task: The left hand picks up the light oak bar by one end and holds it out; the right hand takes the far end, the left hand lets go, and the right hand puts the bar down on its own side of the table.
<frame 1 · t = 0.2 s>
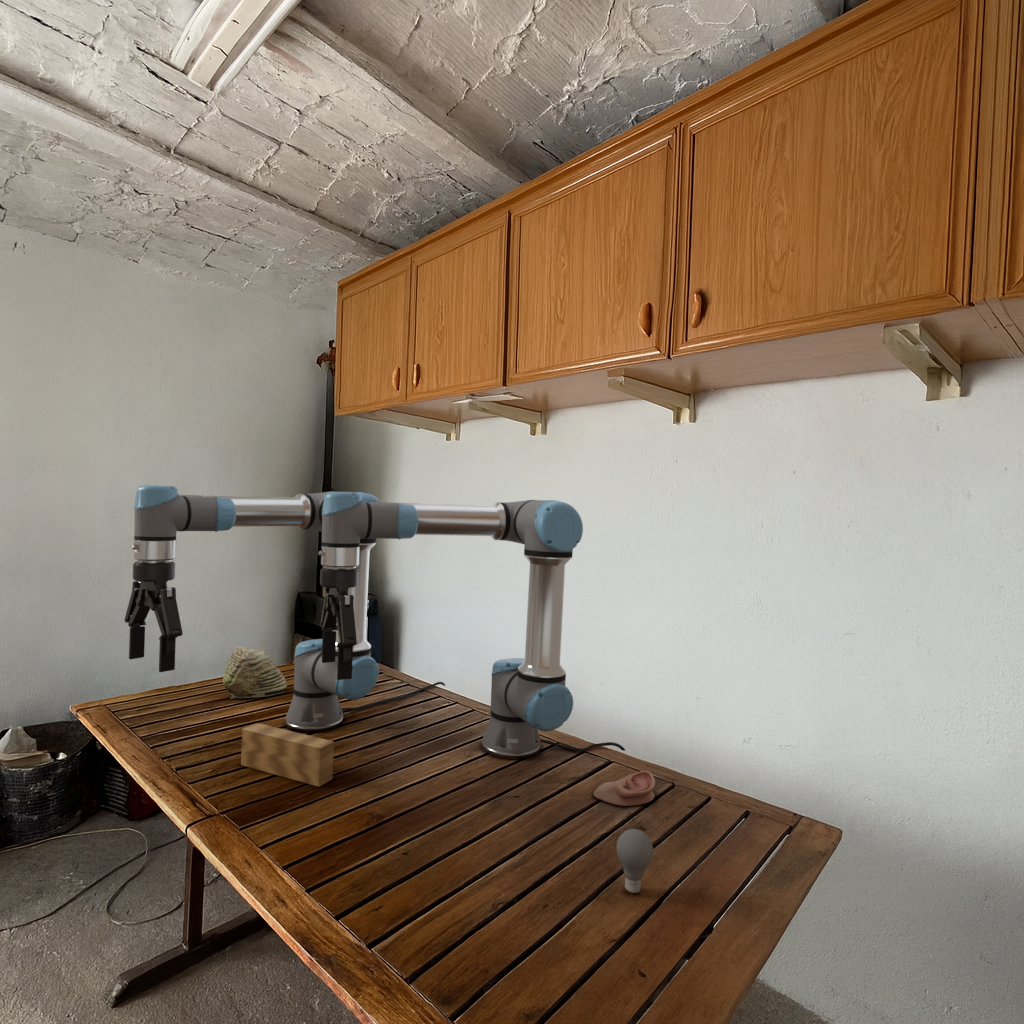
left hand: (151, 664, 130), 28 cm above the table, tool pointing down, fingers open, 13 cm apart
right hand: (336, 670, 130), 28 cm above the table, tool pointing down, fingers open, 13 cm apart
anatomical model: (624, 795, 141), on the table
bar: (285, 771, 145), on the table
light bulb: (632, 891, 106), on the table
fossil: (254, 694, 198), on the table
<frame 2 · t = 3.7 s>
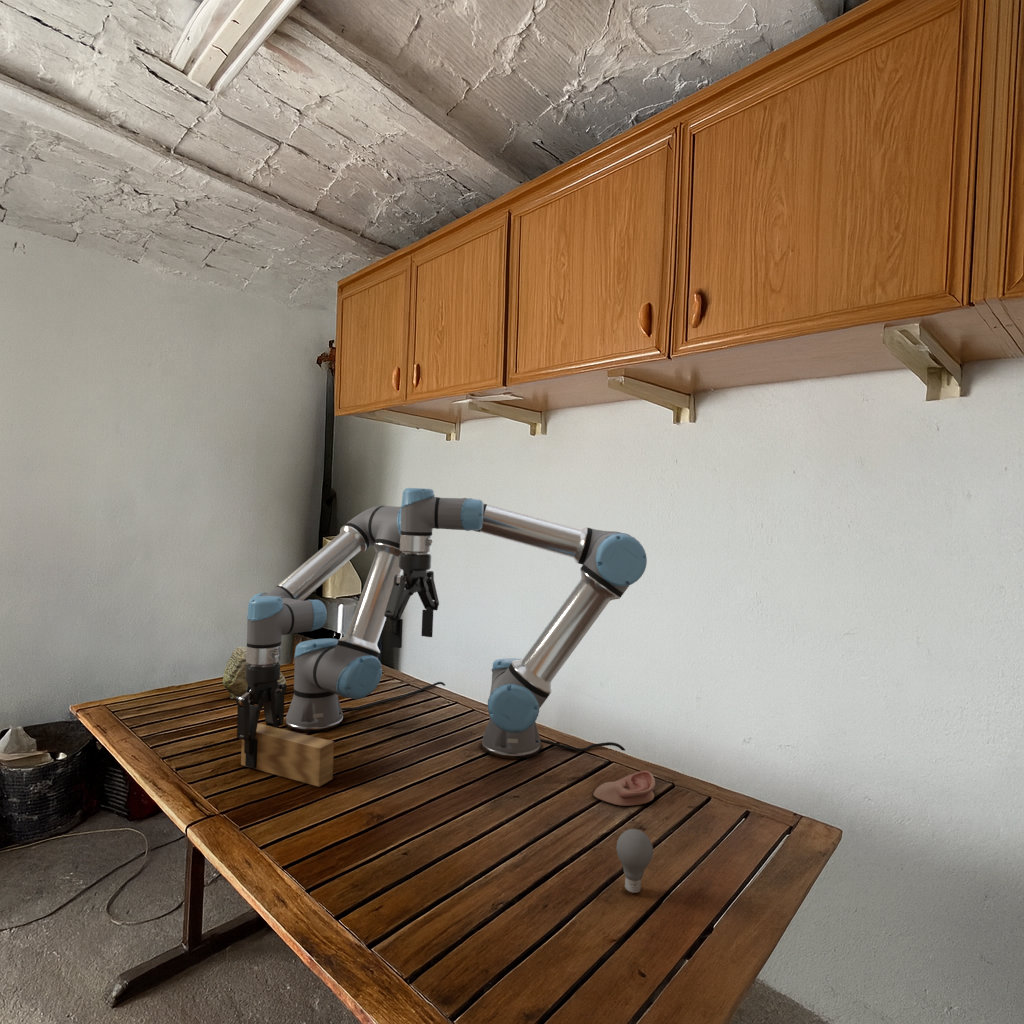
left hand: (259, 762, 148), 1 cm above the table, tool pointing down, fingers closed on bar, 5 cm apart
right hand: (411, 641, 151), 30 cm above the table, tool pointing down, fingers open, 13 cm apart
bar: (285, 771, 145), on the table, touching left hand
everything else where it was.
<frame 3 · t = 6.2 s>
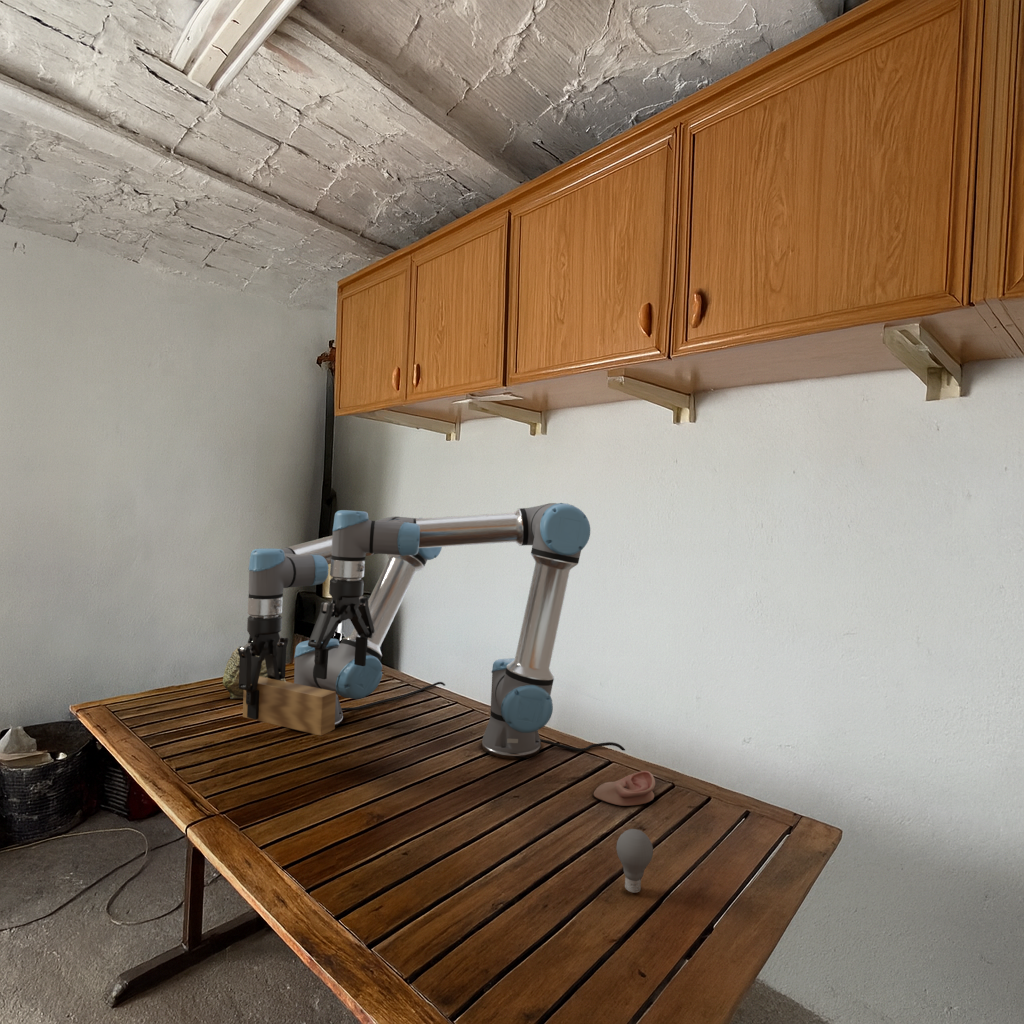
left hand: (261, 714, 148), 12 cm above the table, tool pointing down, fingers closed on bar, 5 cm apart
right hand: (341, 671, 144), 24 cm above the table, tool pointing down, fingers open, 13 cm apart
bar: (287, 723, 145), point 11 cm above the table, touching left hand
everything else where it was.
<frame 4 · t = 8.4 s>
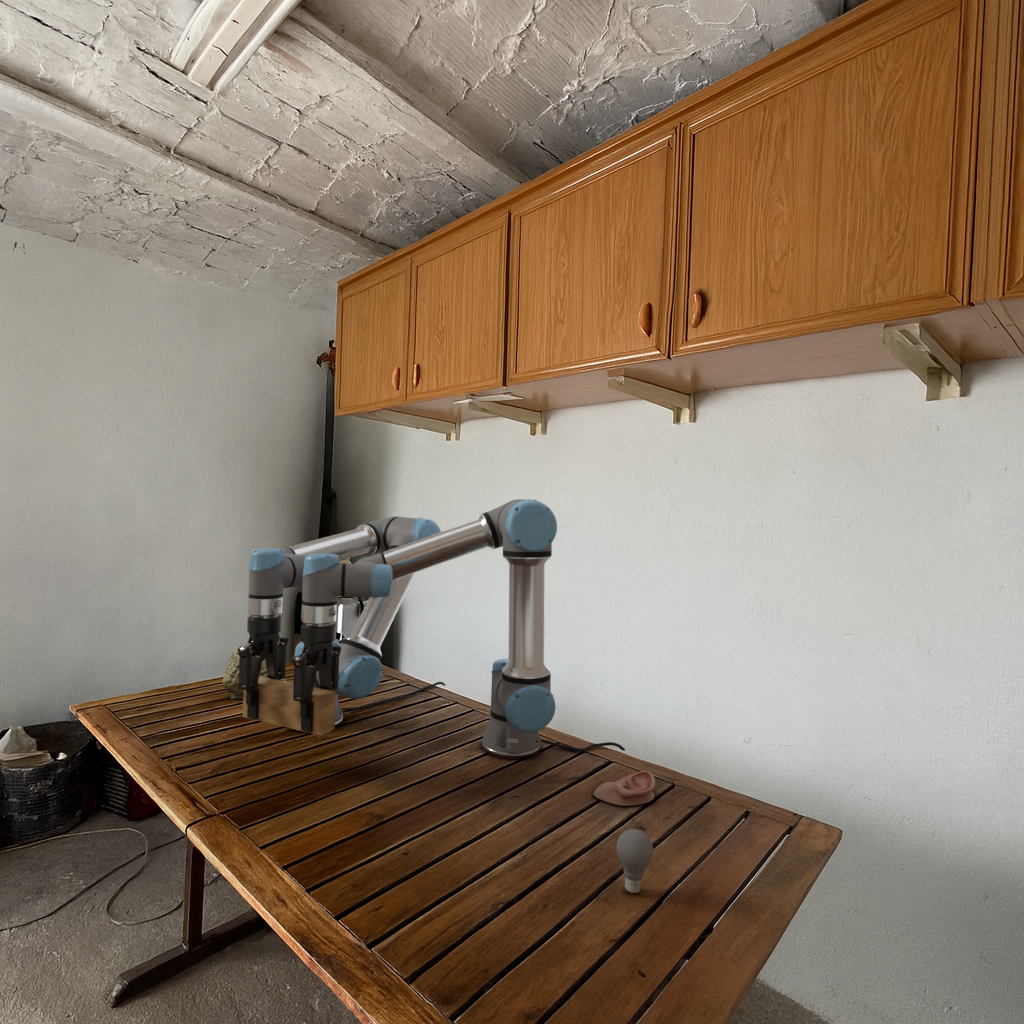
left hand: (261, 714, 148), 12 cm above the table, tool pointing down, fingers closed on bar, 5 cm apart
right hand: (315, 726, 141), 12 cm above the table, tool pointing down, fingers closed on bar, 5 cm apart
bar: (287, 723, 145), point 11 cm above the table, touching left hand, right hand
everything else where it was.
when the left hand's fingers open (12 cm above the table, at t = 9.0 s): bar stays where it is, held by the right hand.
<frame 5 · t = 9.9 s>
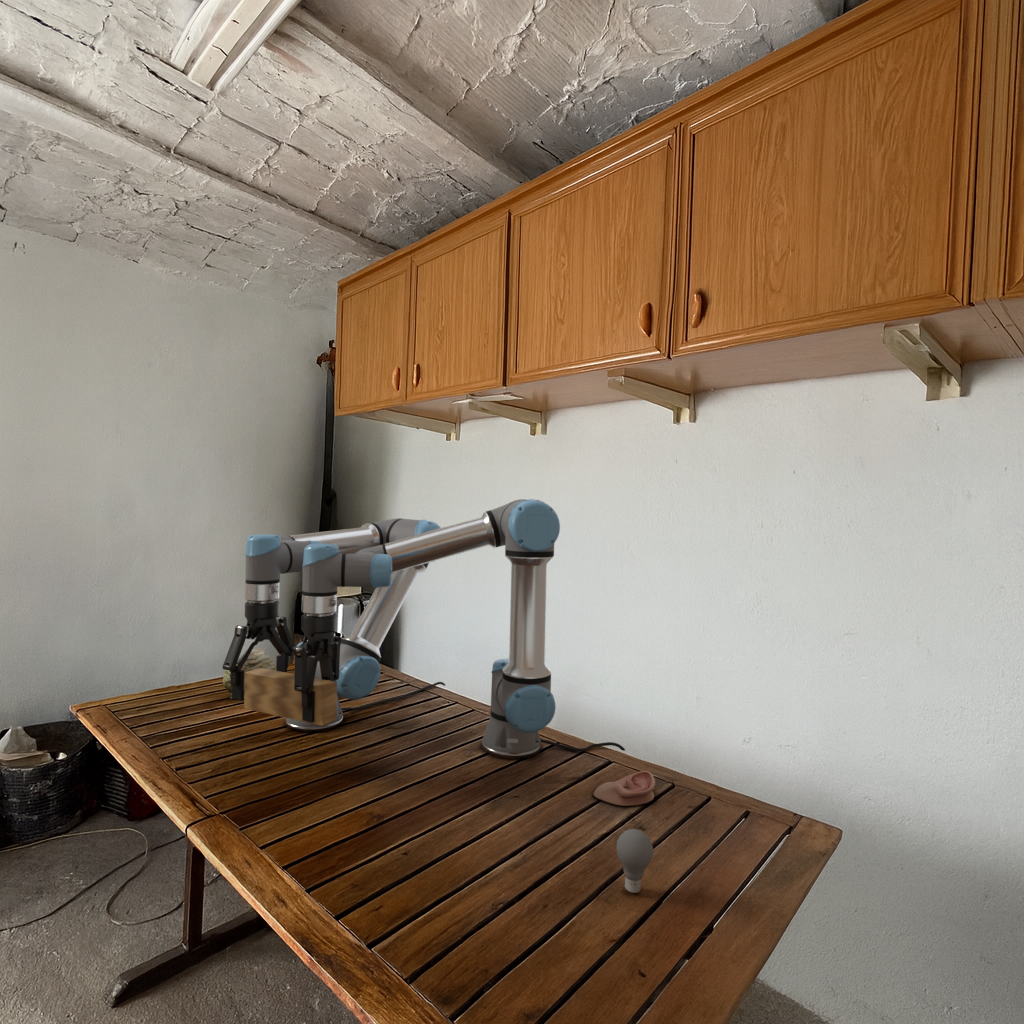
left hand: (260, 690, 149), 17 cm above the table, tool pointing down, fingers open, 13 cm apart
right hand: (316, 717, 141), 14 cm above the table, tool pointing down, fingers closed on bar, 5 cm apart
bar: (289, 714, 145), point 13 cm above the table, touching right hand
everything else where it was.
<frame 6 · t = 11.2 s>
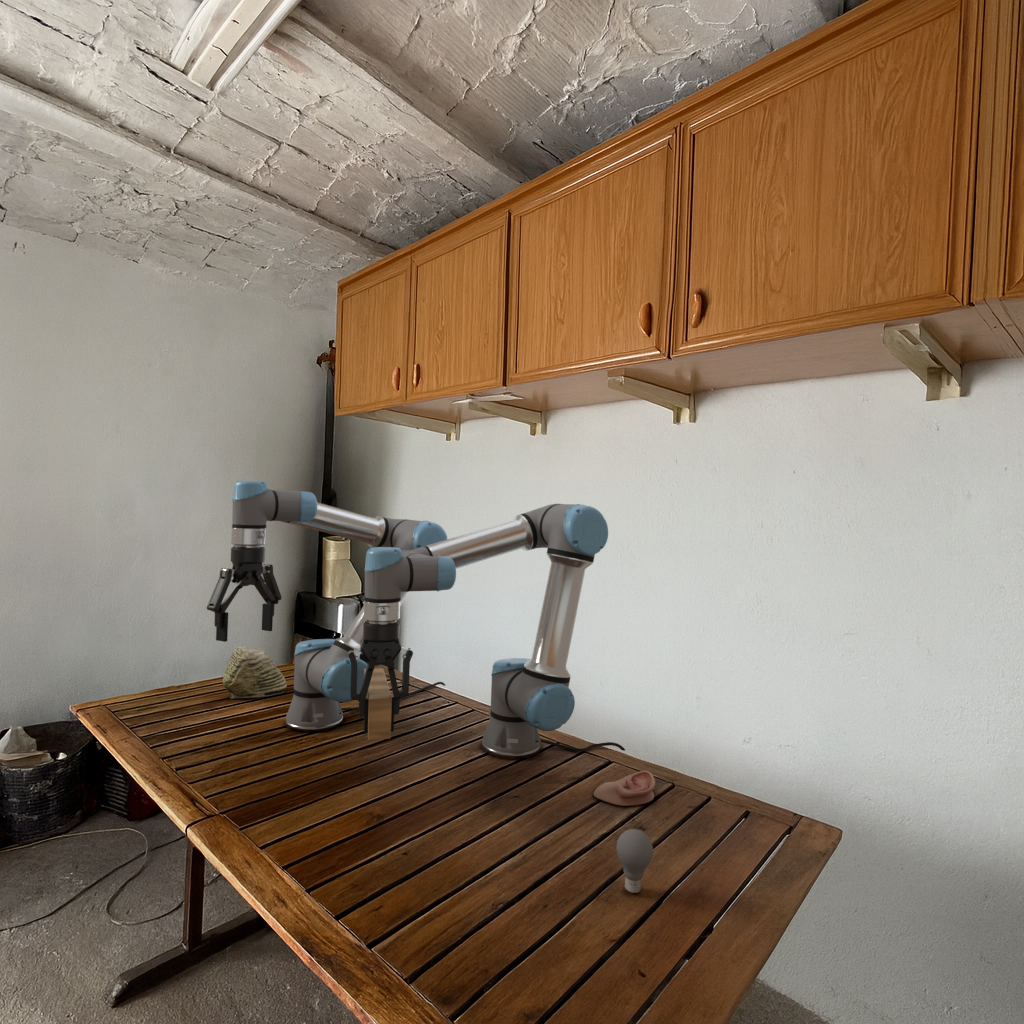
left hand: (245, 635, 150), 30 cm above the table, tool pointing down, fingers open, 13 cm apart
right hand: (378, 730, 134), 15 cm above the table, tool pointing down, fingers closed on bar, 5 cm apart
bar: (375, 720, 142), point 14 cm above the table, touching right hand
everything else where it was.
when the right hand's fingers open (2 cm above the table, at t = 14.4 s): bar drops 1 cm, on the table.
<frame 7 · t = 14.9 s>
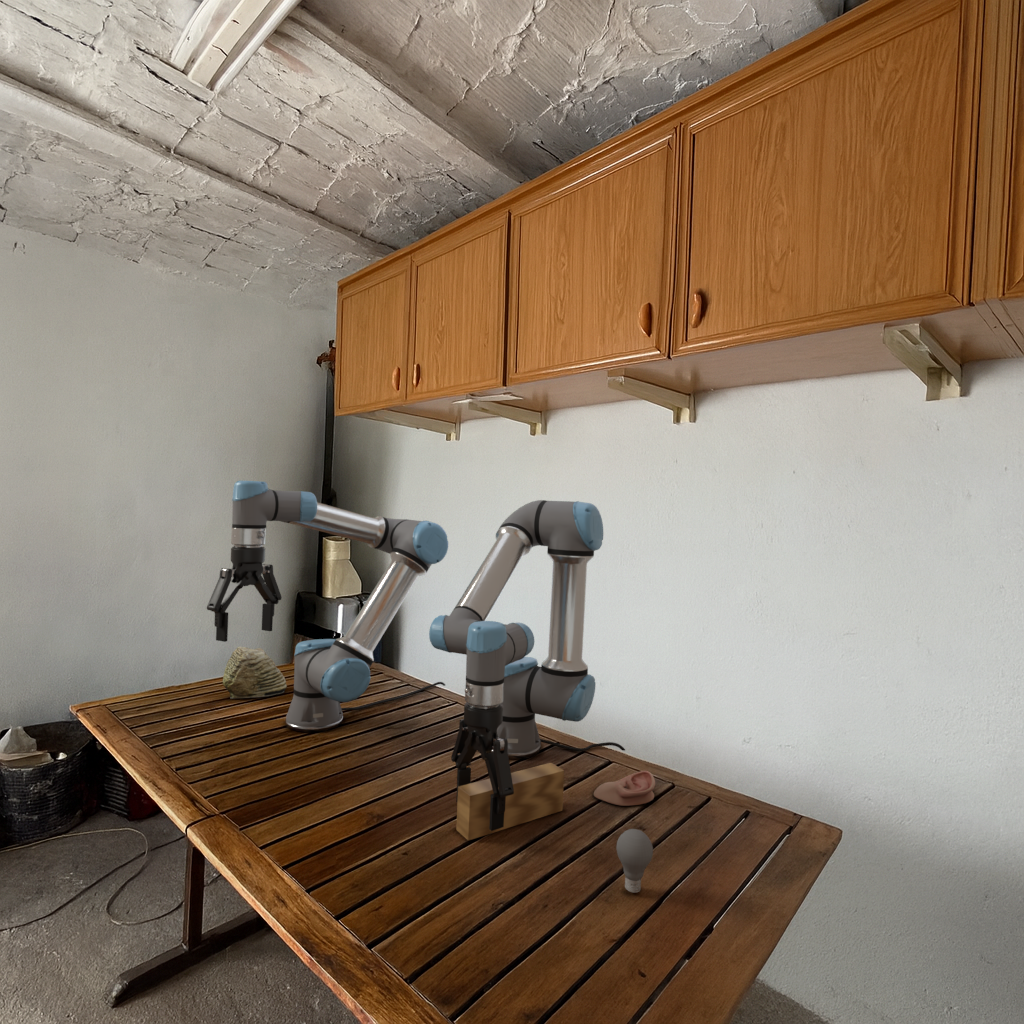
left hand: (245, 635, 150), 30 cm above the table, tool pointing down, fingers open, 13 cm apart
right hand: (479, 814, 123), 3 cm above the table, tool pointing down, fingers open, 11 cm apart
bar: (511, 820, 128), on the table
everything else where it was.
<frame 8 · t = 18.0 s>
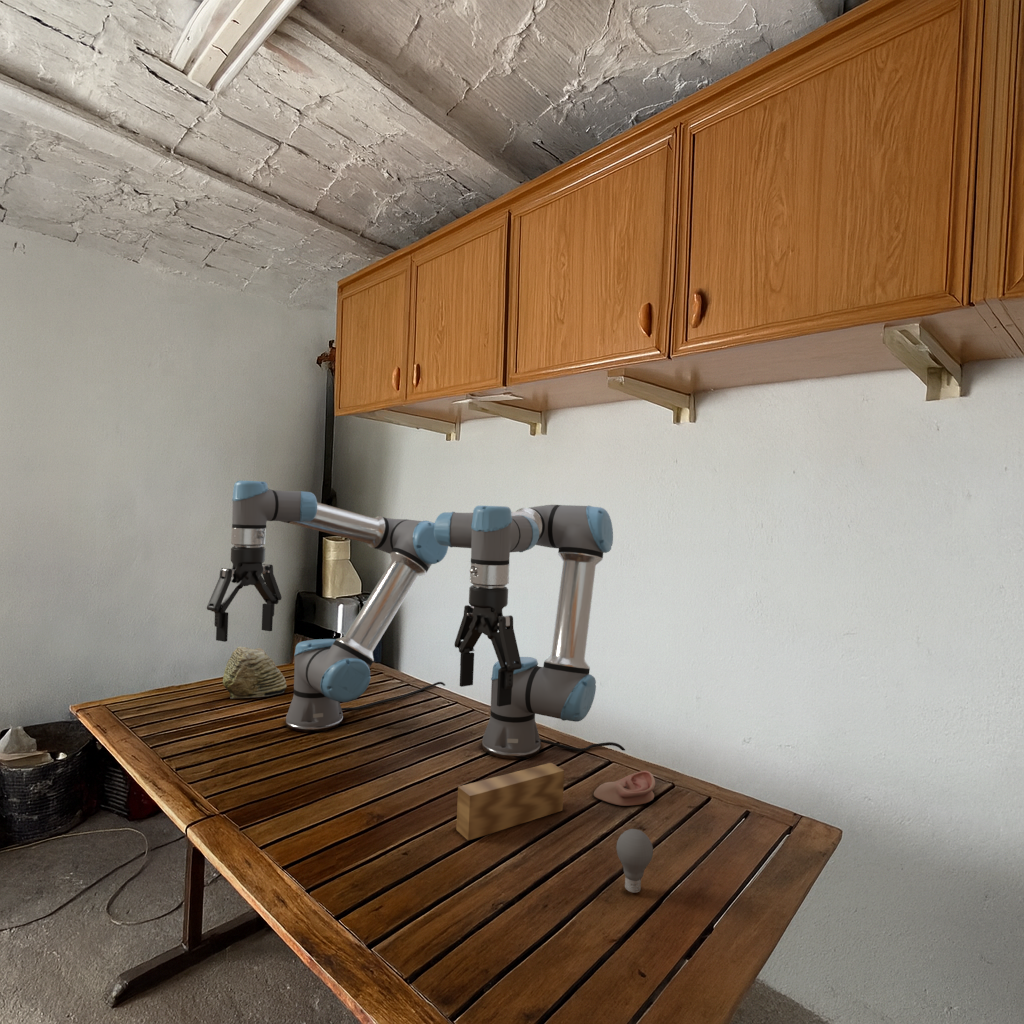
left hand: (245, 635, 150), 30 cm above the table, tool pointing down, fingers open, 13 cm apart
right hand: (484, 695, 123), 26 cm above the table, tool pointing down, fingers open, 13 cm apart
nothing on the table moved.
at the end: bar inside the target area (7.8 cm from its centre), on the table; the left hand is holding nothing; the right hand is holding nothing; bar at rest at the end (0.0 cm/s) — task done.
